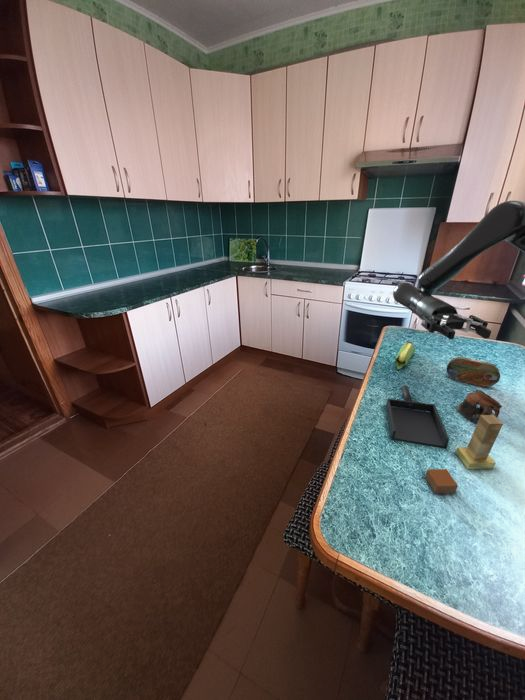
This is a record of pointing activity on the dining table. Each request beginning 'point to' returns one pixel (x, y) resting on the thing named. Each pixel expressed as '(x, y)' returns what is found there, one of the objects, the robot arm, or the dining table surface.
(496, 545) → the dining table surface
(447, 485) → the brown square block
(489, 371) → the tin
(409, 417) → the pan
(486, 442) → the pillar on square base
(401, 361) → the edible corn
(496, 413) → the pottery mug
